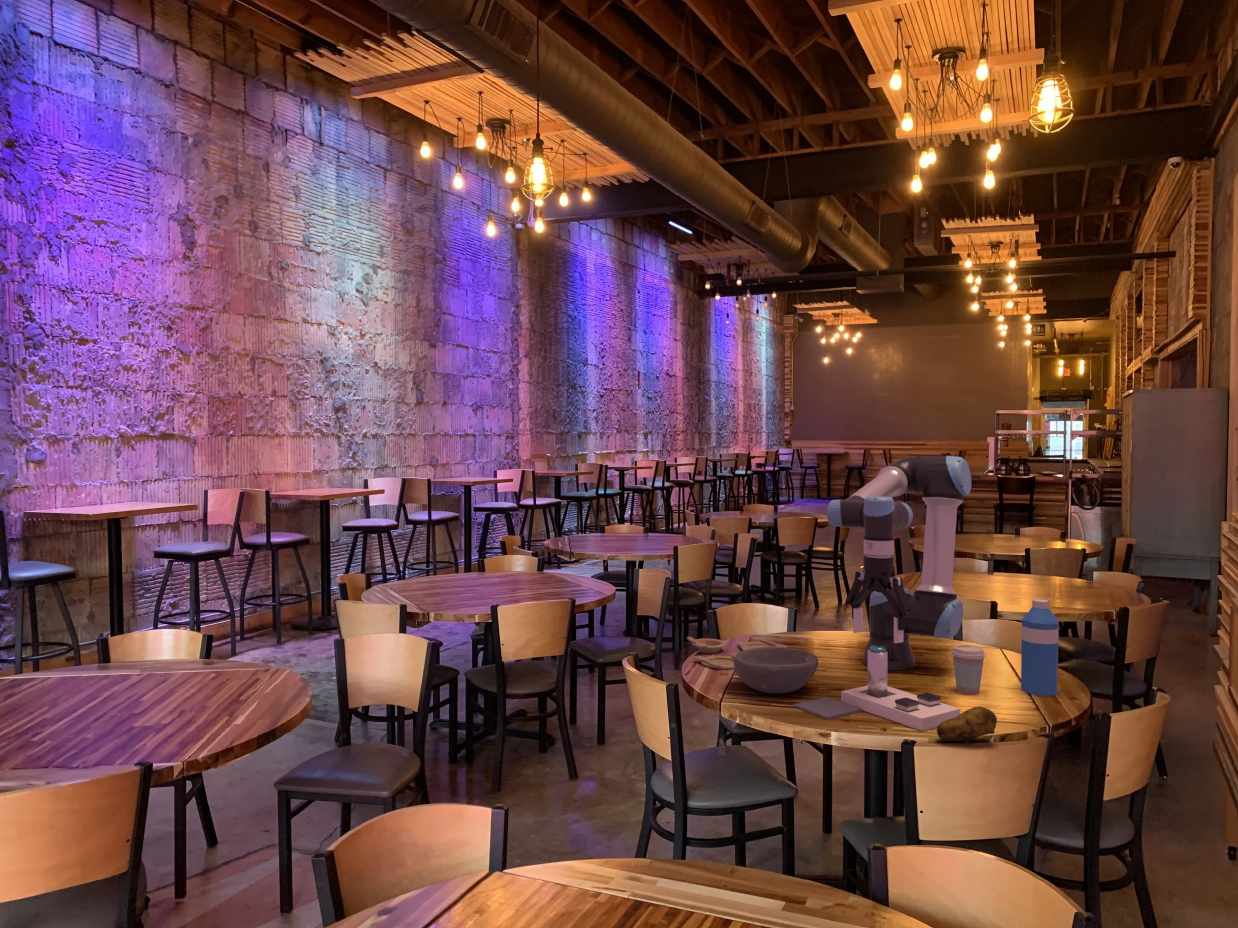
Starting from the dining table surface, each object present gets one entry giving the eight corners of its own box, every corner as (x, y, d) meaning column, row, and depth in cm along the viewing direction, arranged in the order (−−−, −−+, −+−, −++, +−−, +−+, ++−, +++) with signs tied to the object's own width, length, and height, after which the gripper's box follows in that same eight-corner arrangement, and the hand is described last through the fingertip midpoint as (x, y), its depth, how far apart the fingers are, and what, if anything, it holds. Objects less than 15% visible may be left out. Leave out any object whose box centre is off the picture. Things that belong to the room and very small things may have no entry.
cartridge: (863, 703, 226) (863, 646, 225) (876, 700, 228) (876, 644, 228) (878, 708, 222) (878, 650, 221) (891, 705, 224) (891, 647, 224)
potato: (936, 732, 203) (936, 698, 203) (995, 738, 199) (995, 704, 199) (936, 744, 196) (937, 709, 195) (998, 750, 191) (998, 715, 191)
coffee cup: (983, 688, 239) (983, 645, 239) (985, 697, 231) (986, 652, 231) (950, 685, 242) (950, 643, 241) (951, 694, 234) (952, 650, 233)
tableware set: (704, 672, 257) (704, 659, 257) (675, 649, 286) (675, 637, 286) (812, 665, 265) (812, 652, 265) (773, 643, 294) (773, 631, 294)
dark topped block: (916, 708, 217) (916, 694, 217) (927, 705, 219) (927, 692, 219) (929, 712, 213) (930, 698, 213) (940, 709, 215) (940, 696, 215)
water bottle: (1062, 696, 231) (1064, 604, 230) (1025, 694, 233) (1026, 602, 232) (1052, 686, 240) (1053, 597, 239) (1016, 685, 242) (1017, 596, 241)
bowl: (765, 673, 254) (766, 640, 254) (832, 689, 238) (833, 653, 238) (716, 689, 238) (716, 654, 238) (784, 707, 222) (784, 669, 222)
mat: (793, 706, 223) (793, 704, 223) (827, 699, 229) (827, 696, 229) (827, 719, 213) (827, 716, 213) (861, 711, 219) (861, 708, 219)
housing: (841, 702, 227) (841, 691, 226) (878, 694, 234) (878, 683, 234) (921, 730, 204) (922, 718, 204) (960, 720, 212) (960, 708, 211)
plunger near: (894, 713, 212) (894, 699, 212) (905, 710, 215) (906, 697, 214) (907, 717, 209) (908, 704, 209) (919, 715, 211) (919, 701, 211)
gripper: (832, 551, 233) (832, 629, 233) (907, 562, 211) (906, 648, 212) (852, 549, 236) (852, 626, 237) (927, 560, 215) (926, 644, 216)
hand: (877, 637), depth 224 cm, fingers open, 13 cm apart
